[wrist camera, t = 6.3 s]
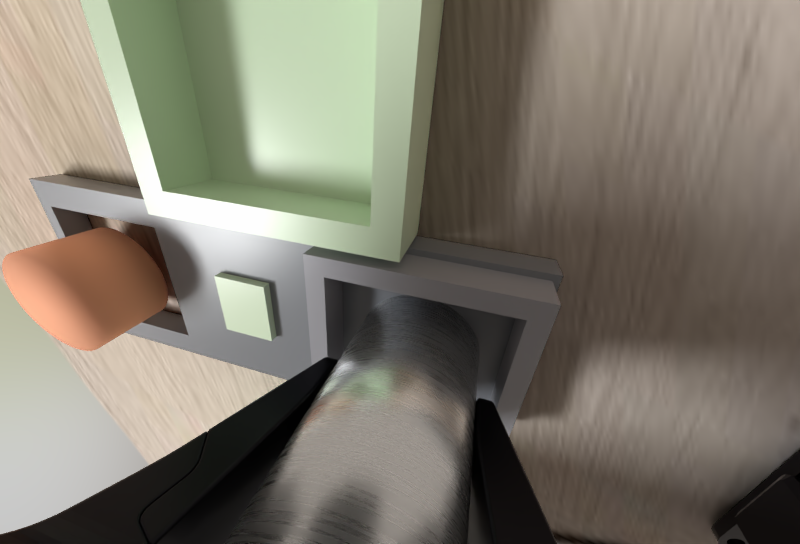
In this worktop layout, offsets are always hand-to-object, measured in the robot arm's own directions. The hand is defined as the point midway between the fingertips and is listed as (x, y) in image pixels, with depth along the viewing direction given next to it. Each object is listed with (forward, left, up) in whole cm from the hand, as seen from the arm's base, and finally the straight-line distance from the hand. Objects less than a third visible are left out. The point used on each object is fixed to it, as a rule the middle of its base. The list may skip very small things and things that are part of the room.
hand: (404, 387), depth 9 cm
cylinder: (+13, 0, -2) cm, 13 cm away
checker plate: (+6, 0, -3) cm, 6 cm away
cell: (0, 0, -2) cm, 2 cm away
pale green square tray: (+5, -8, -3) cm, 9 cm away
